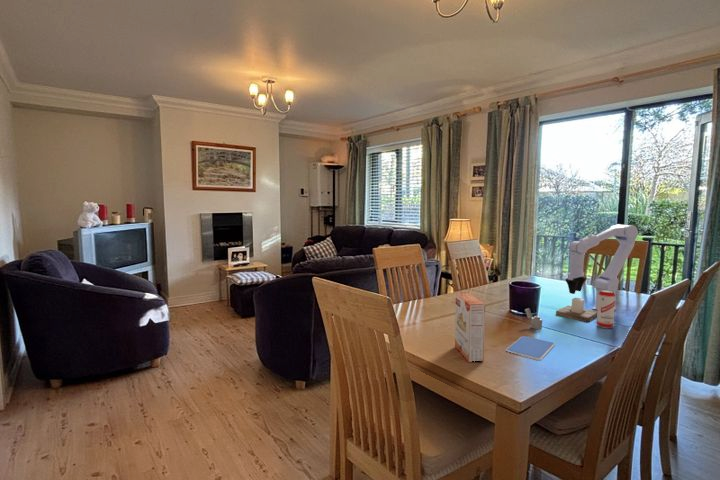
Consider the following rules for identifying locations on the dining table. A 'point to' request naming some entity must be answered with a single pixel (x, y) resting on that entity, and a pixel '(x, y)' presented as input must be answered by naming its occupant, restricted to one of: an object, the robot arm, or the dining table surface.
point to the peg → (577, 305)
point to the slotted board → (577, 314)
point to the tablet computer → (531, 347)
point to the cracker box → (470, 327)
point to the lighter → (534, 320)
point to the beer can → (606, 308)
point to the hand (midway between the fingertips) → (575, 292)
